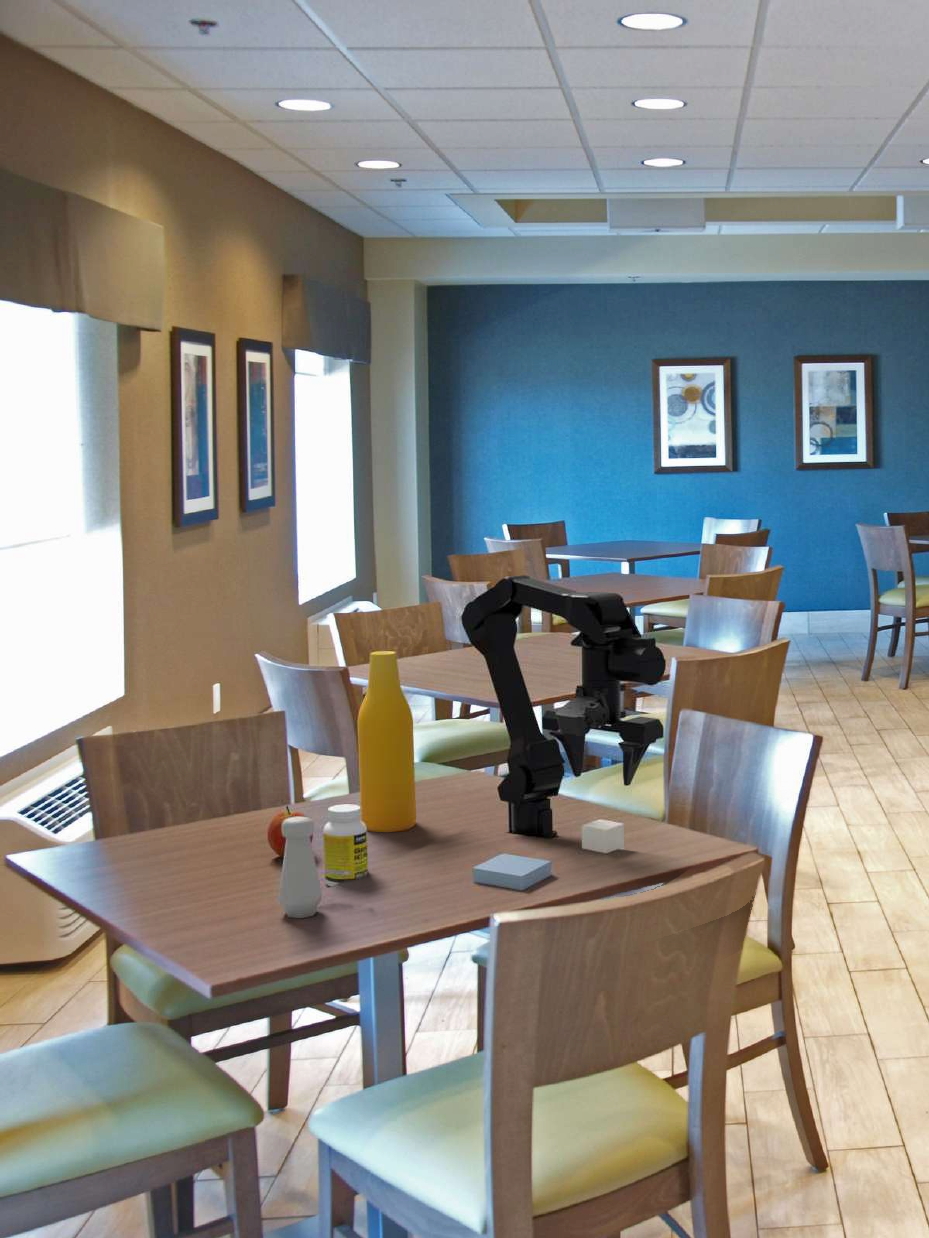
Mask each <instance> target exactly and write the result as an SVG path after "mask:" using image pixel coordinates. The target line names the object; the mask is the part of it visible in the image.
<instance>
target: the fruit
mask: <svg viewBox="0 0 929 1238" xmlns="http://www.w3.org/2000/svg"><path fill="white" fill-rule="evenodd" d="M285 808H286V811H287V812H285V811H284V812H281V813H278V814H277V815H275V816H274V817H273V818H272V819H271V821H270V823H269V825H268V827H267V841H268V845H269V847H270V848H271V849H272V851H273V852H275V854H277V856H280V857H282V858H284V853H285V845H286V838H285V837H283V835H282V830H281V828H282V822H283V821H284V820H285V819H287V818H291V817H297V816H298V817H307V816H306V815H305V814H303V813H300V812H297V811H294V812H293V811H290V809H289V806H288V805H286V806H285ZM313 838H314V834H313V835H311V836H310V841H311V844H312V842H313V840H314V839H313Z"/></svg>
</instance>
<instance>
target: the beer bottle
mask: <svg viewBox="0 0 929 1238" xmlns="http://www.w3.org/2000/svg"><path fill="white" fill-rule="evenodd" d="M398 665H399V664H398V659H397V653H396V651H390V650H385V651H384V650H380V651H379V650H378V651H373V652H370V655H369V667H368V682H367V690H366V693H365V695H364V699H363V700H362V703H361V706H360V708H359V711H358V715H357V716H358V717H357V740H358V741H357V743H358V745H357V746H358V767H359V769H358V771H359V795H360V796H359V797H360V801H359V802H360V807H361V817H360V821H362V822H363V823H364V824H365V825H366V828H367V831H369V832H373V833H374V832H377V833H395V832H401V831H406V830H409V829H411V828H413V827H414V826H415V825H416V821H417V803H416V778H415V775H416V773H415V743H414V740H415V739H414V719H413V718H414V717H413V714H412V713H413V712H412V710H411V707H410V704H409V702H408V700H407V698H406V697H405V694H404V692H403V690H402V687H401V680H400V679H401V678H400V672H399V666H398Z"/></svg>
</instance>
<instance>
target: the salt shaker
mask: <svg viewBox="0 0 929 1238" xmlns="http://www.w3.org/2000/svg"><path fill="white" fill-rule="evenodd" d="M314 826H315V825H314V822H313V820H312V819H311V818H309V817H307V816H306V817H298V816H297V817H291V818H287V819H285V820H284V821H283V822H282V828H281V830H282V835H283V837H285V838H286V845H285V853H284V857H283V862H282V867H281V878H280V885H279V891H278V901H279V904H280V905H281V907H282V908H283V910H284V912H285V914H286V916H287V918H295V919H302V918H307V917H313V916H314V915H315V914H316V912H317V910H318V909H319V905H320V903H321V901H322V895H323V892H322V887H321V883H320V879H319V878H320V877H319V873H318V869H317V864H316V860H315V856H314V850H313V846H312V843H311V841H310V836H311V835H313V836H314V828H315V827H314Z"/></svg>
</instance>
